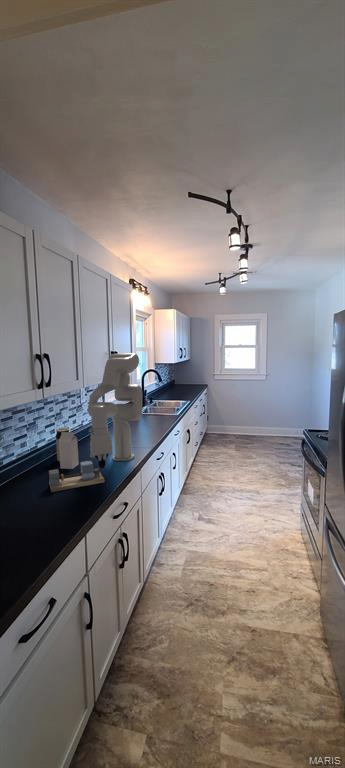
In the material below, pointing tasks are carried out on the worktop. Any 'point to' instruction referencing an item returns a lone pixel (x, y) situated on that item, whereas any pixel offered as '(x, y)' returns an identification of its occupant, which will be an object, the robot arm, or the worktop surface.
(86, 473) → the sleeve
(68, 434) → the milk carton
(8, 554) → the worktop surface
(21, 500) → the worktop surface
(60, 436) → the travel mug
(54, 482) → the slider mechanism
